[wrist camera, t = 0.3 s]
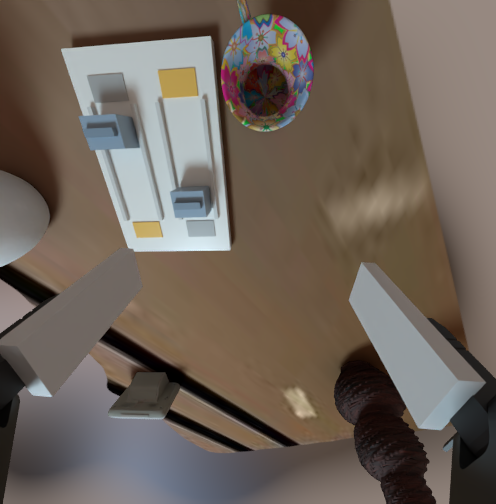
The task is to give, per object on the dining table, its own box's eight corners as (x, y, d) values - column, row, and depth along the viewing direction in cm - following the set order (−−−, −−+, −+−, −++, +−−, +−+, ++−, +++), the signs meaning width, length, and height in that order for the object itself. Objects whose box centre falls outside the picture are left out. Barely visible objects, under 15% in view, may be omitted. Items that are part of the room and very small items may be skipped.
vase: (373, 389, 61) (460, 583, 34) (320, 383, 61) (365, 571, 34) (396, 354, 53) (530, 565, 27) (336, 347, 53) (410, 550, 27)
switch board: (72, 54, 30) (55, 46, 27) (213, 42, 28) (209, 33, 26) (134, 247, 43) (127, 253, 41) (231, 245, 42) (229, 252, 39)
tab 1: (99, 119, 31) (73, 115, 27) (132, 117, 31) (111, 113, 26) (108, 149, 33) (86, 150, 29) (139, 147, 32) (121, 148, 28)
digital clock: (130, 384, 67) (109, 424, 57) (126, 366, 62) (102, 406, 53) (181, 391, 67) (168, 432, 57) (180, 373, 62) (166, 415, 53)
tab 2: (179, 186, 35) (167, 193, 31) (208, 185, 35) (201, 192, 30) (183, 210, 37) (173, 219, 32) (211, 209, 36) (205, 218, 32)
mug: (305, 117, 31) (324, 107, 22) (247, 144, 34) (242, 145, 24) (279, 14, 27) (289, -57, 17) (213, 53, 29) (190, 9, 19)
